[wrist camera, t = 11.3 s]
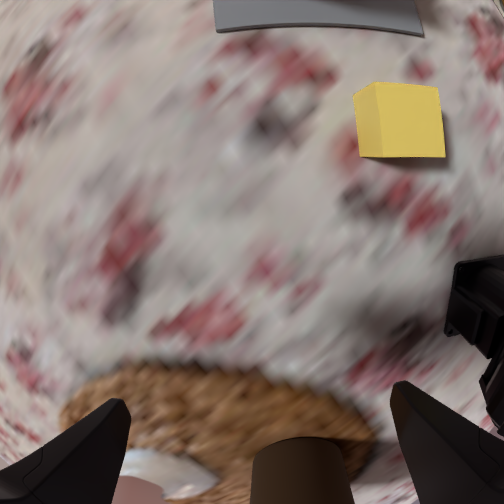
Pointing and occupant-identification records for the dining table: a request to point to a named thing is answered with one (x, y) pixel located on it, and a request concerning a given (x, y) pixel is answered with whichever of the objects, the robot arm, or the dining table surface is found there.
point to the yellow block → (399, 121)
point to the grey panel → (318, 14)
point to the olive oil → (300, 474)
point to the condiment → (500, 6)
